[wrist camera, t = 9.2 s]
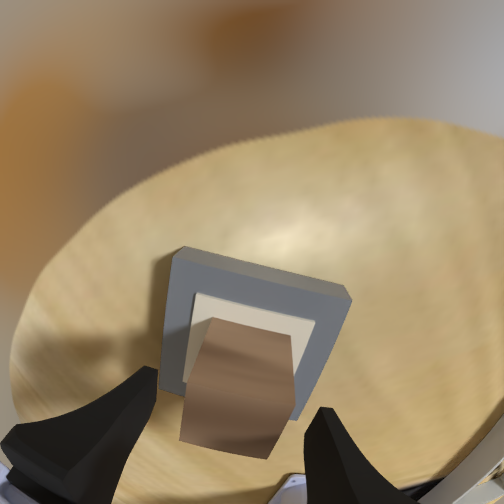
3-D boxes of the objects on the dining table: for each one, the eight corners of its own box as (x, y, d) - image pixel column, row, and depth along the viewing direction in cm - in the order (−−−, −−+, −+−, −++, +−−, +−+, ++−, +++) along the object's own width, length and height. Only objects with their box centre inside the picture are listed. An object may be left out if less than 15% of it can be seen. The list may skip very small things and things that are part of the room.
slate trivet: (295, 400, 18) (297, 423, 16) (167, 370, 18) (157, 390, 16) (343, 285, 16) (353, 302, 14) (184, 245, 16) (171, 257, 14)
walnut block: (270, 390, 15) (266, 459, 11) (201, 374, 15) (179, 440, 11) (290, 335, 14) (295, 405, 10) (212, 316, 14) (187, 381, 10)
